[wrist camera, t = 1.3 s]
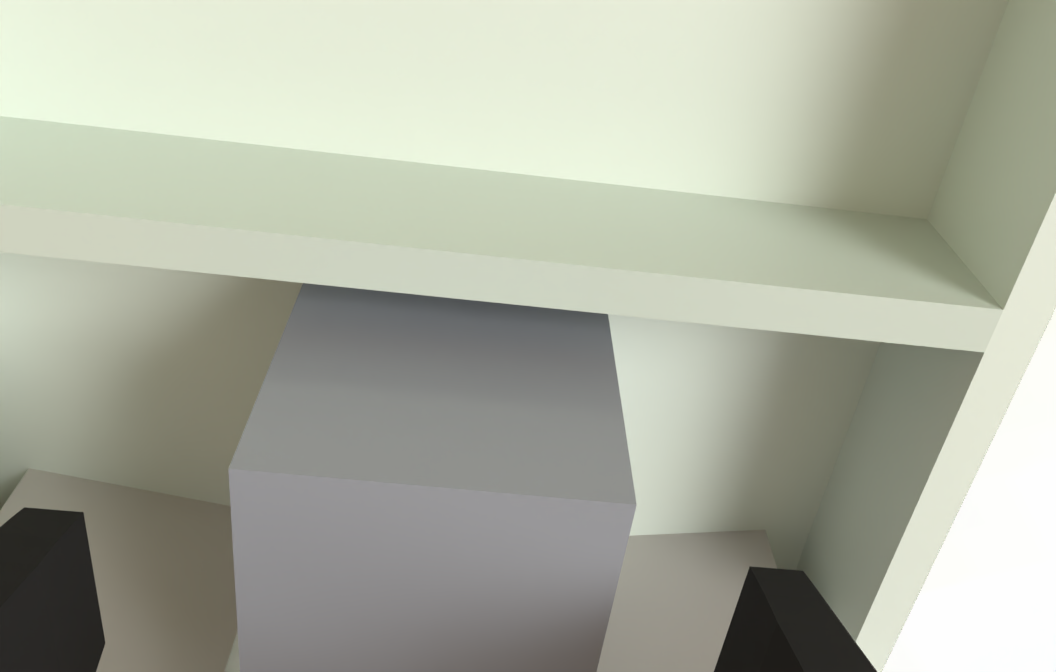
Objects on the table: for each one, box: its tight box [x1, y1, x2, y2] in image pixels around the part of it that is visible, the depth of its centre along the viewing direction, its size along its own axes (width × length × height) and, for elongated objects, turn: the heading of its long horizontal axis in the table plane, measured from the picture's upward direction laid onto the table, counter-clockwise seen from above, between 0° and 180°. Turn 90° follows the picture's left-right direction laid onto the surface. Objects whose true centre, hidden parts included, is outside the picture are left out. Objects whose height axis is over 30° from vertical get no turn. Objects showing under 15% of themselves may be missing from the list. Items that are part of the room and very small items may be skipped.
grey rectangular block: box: [228, 283, 637, 672], centre depth 13 cm, size 4×4×5 cm
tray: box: [0, 0, 1056, 672], centre depth 12 cm, size 22×15×3 cm
